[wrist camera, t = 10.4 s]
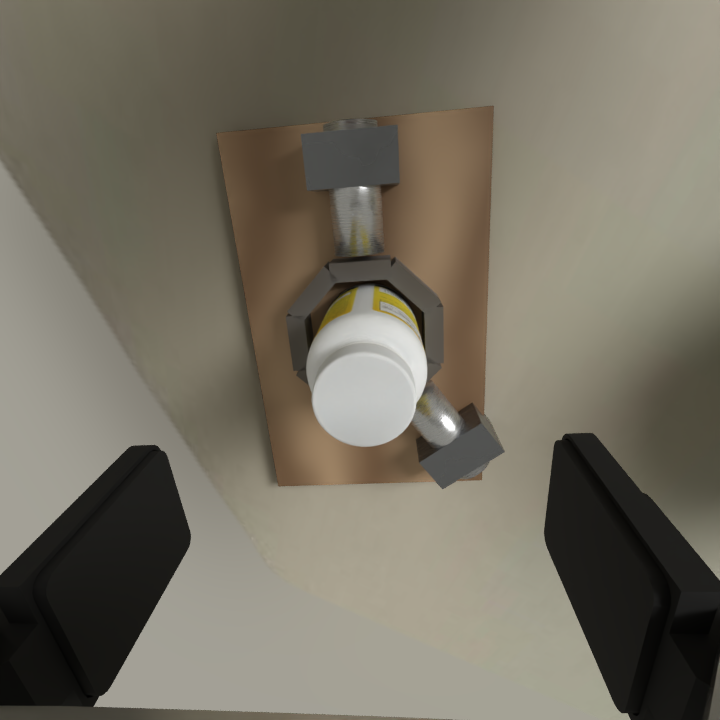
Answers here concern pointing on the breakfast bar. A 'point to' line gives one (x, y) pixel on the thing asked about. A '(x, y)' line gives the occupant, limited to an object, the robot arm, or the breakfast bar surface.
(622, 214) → the breakfast bar surface
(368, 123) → the shaft
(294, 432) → the octagonal ring mount
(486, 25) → the breakfast bar surface
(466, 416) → the shaft
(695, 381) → the breakfast bar surface
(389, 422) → the supplement bottle
